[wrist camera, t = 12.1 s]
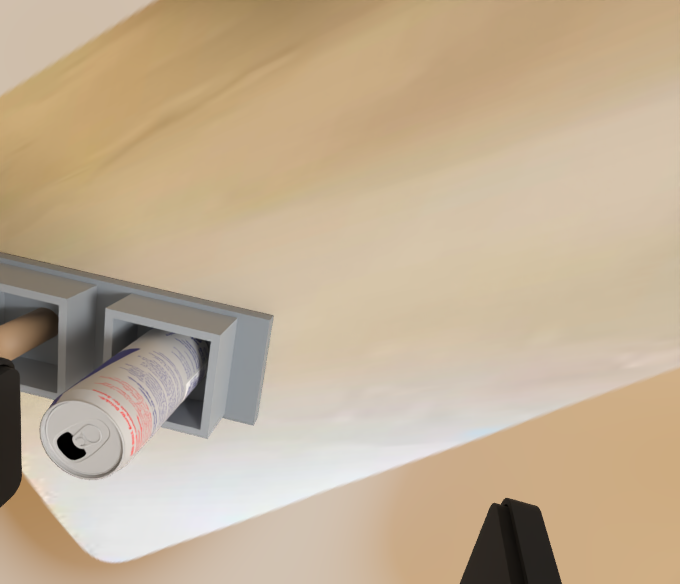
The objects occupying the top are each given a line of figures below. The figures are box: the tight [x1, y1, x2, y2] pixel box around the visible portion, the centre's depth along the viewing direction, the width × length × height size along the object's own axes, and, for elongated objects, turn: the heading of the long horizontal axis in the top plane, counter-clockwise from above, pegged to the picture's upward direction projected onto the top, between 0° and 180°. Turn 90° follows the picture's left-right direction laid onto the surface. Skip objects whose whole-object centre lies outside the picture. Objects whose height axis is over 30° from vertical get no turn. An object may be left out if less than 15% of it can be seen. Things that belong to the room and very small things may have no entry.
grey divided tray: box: [0, 252, 273, 439], centre depth 38 cm, size 24×9×6 cm, turn 79°
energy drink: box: [40, 328, 210, 480], centre depth 33 cm, size 5×5×12 cm
